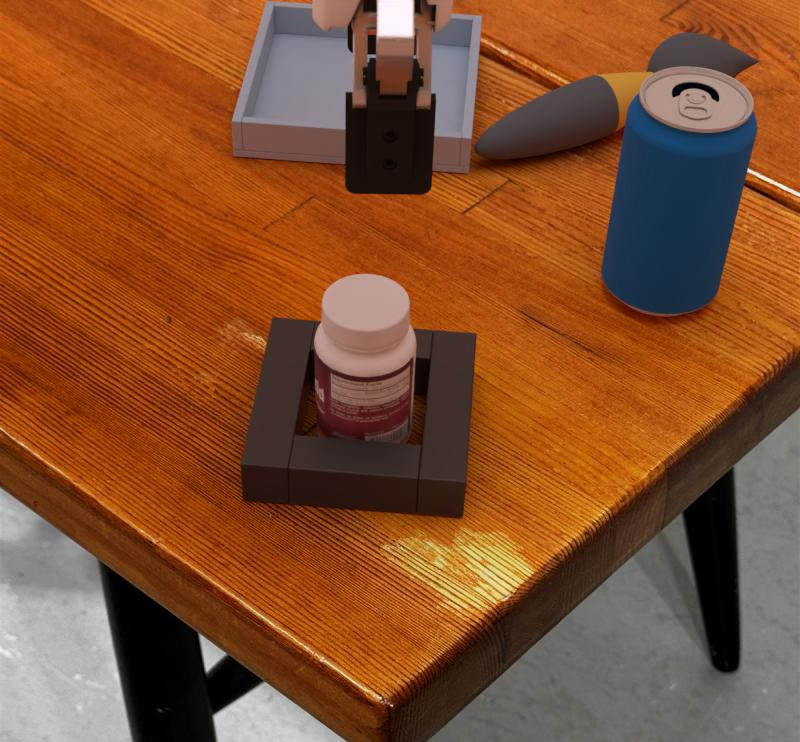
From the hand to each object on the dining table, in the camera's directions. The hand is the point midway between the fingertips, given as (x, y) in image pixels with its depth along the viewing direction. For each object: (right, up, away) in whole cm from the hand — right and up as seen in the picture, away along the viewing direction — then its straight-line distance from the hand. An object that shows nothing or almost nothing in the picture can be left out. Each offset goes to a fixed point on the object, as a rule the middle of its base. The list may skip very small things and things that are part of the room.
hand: (386, 116), depth 58 cm
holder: (-1, -12, +14) cm, 19 cm away
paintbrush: (+14, +7, +33) cm, 37 cm away
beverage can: (+15, -4, +23) cm, 27 cm away
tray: (-2, +10, +34) cm, 36 cm away
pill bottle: (-1, -12, +14) cm, 19 cm away
